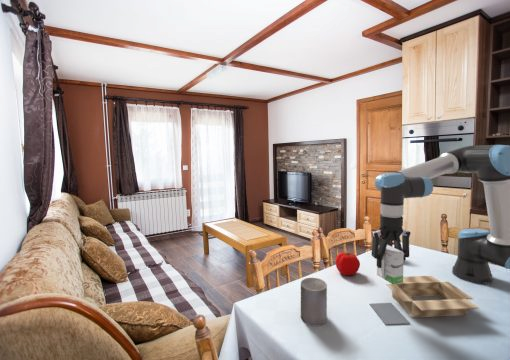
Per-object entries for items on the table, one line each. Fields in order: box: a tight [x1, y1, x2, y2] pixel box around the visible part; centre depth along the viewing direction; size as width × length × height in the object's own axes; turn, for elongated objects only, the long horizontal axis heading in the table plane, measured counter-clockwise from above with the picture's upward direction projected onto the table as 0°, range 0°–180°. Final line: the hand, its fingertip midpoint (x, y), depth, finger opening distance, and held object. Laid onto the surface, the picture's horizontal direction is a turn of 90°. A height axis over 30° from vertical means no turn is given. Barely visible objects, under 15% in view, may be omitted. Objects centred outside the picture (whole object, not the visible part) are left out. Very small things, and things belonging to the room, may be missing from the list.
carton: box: [386, 275, 480, 318], centre depth 108 cm, size 27×25×6 cm
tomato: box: [335, 251, 361, 276], centre depth 137 cm, size 12×12×11 cm
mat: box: [368, 302, 411, 326], centre depth 104 cm, size 9×13×1 cm
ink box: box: [376, 245, 405, 284], centre depth 101 cm, size 9×5×12 cm, turn 15°
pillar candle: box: [300, 277, 328, 327], centre depth 101 cm, size 10×10×15 cm
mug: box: [379, 234, 396, 248], centre depth 156 cm, size 9×12×12 cm
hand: (389, 275), depth 102 cm, fingers closed on ink box, 6 cm apart
